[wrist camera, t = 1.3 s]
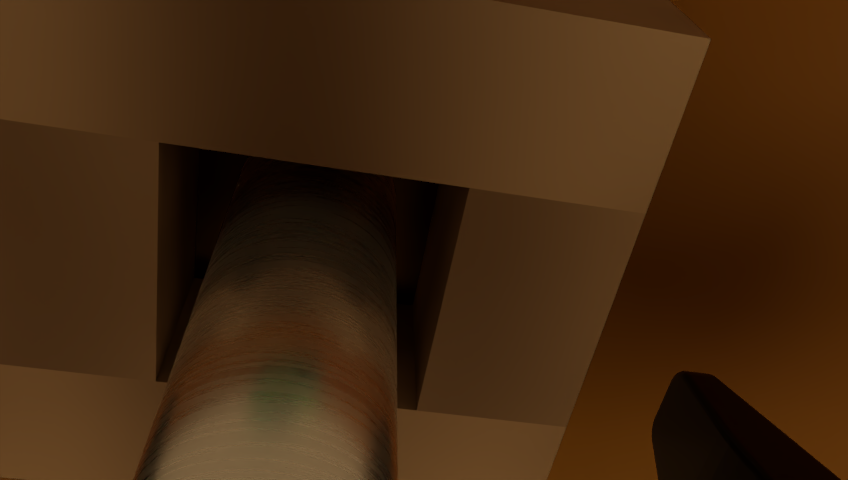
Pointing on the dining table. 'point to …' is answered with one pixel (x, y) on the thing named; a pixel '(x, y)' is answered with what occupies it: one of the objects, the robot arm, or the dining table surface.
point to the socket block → (336, 148)
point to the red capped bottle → (289, 337)
